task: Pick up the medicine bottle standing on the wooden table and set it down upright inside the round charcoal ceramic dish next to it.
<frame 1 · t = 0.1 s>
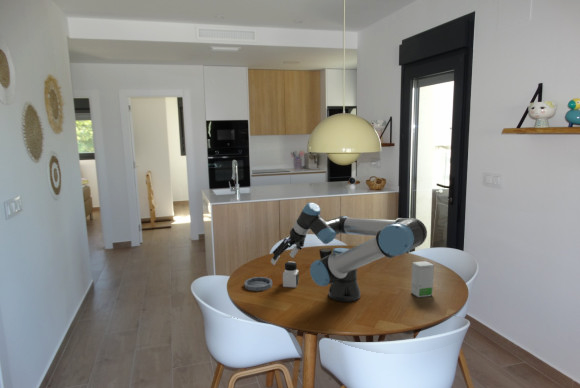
hand: (282, 259, 203), 15 cm above the table, tool tilted 35°, fingers open, 13 cm apart
medicine bottle: (291, 285, 210), on the table
dish: (258, 285, 210), on the table
skincare box: (421, 294, 195), on the table
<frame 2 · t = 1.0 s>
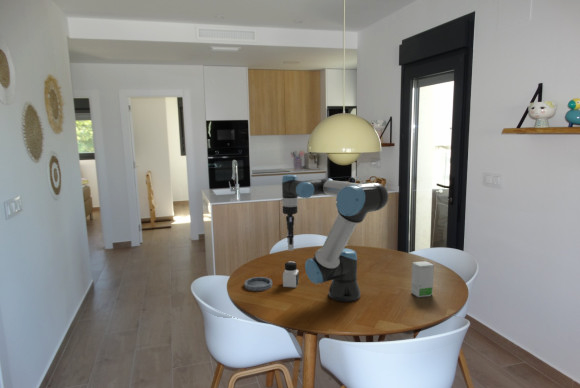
hand: (290, 246, 206), 21 cm above the table, tool pointing down, fingers open, 13 cm apart
nothing on the table moved.
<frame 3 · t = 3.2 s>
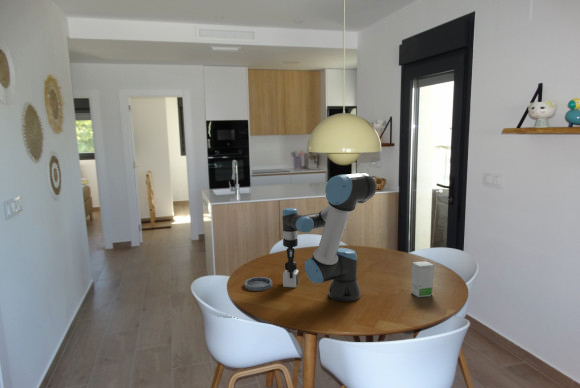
hand: (290, 280, 210), 2 cm above the table, tool pointing down, fingers closed on medicine bottle, 8 cm apart
medicine bottle: (291, 285, 210), on the table, touching gripper
everything else where it was.
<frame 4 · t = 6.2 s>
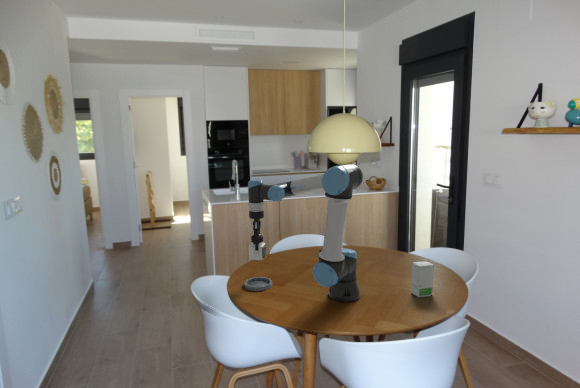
hand: (257, 253, 207), 17 cm above the table, tool pointing down, fingers closed on medicine bottle, 8 cm apart
medicine bottle: (257, 258, 207), point 15 cm above the table, touching gripper
everything else where it was.
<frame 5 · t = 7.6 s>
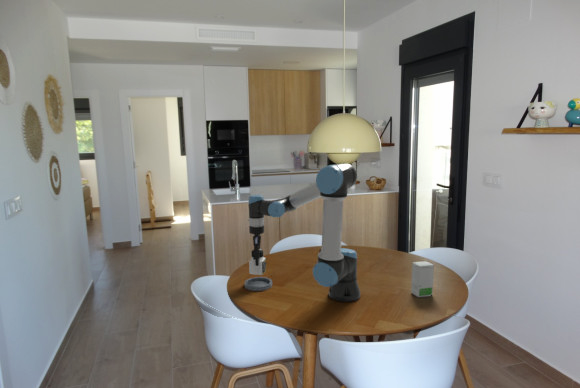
hand: (257, 268, 208), 9 cm above the table, tool pointing down, fingers closed on medicine bottle, 8 cm apart
medicine bottle: (257, 272, 208), point 7 cm above the table, touching gripper
everything else where it was.
when the fingers open (4 cm above the table, at t = 9.0 s): medicine bottle drops 1 cm, resting on dish.
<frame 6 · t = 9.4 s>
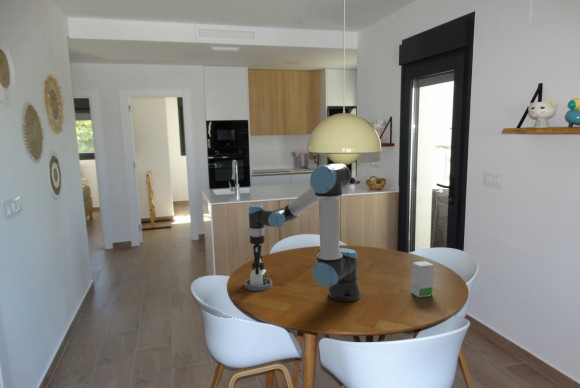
hand: (258, 275, 209), 6 cm above the table, tool pointing down, fingers open, 13 cm apart
medicine bottle: (258, 285, 209), resting on dish
everything else where it was.
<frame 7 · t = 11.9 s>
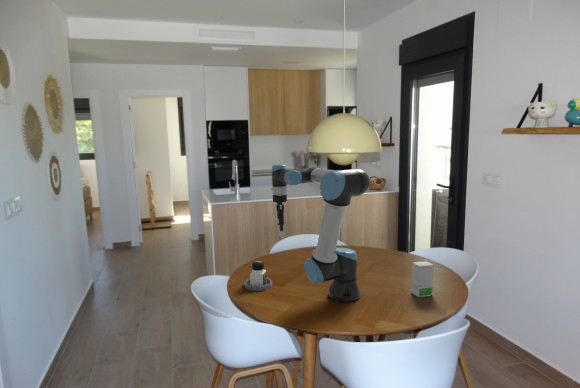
hand: (280, 233, 214), 25 cm above the table, tool pointing down, fingers open, 13 cm apart
nothing on the table moved.
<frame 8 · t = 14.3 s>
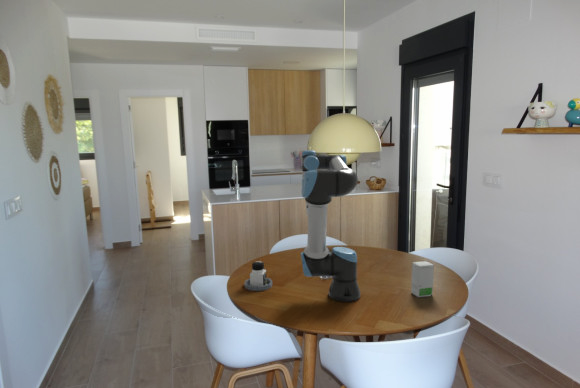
hand: (309, 216, 225), 32 cm above the table, tool pointing down, fingers open, 13 cm apart
nothing on the table moved.
at the end: medicine bottle 0.1 cm off-centre on the dish, point 0.3 cm above the dish's base; medicine bottle tilted 0°; the gripper is holding nothing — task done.
